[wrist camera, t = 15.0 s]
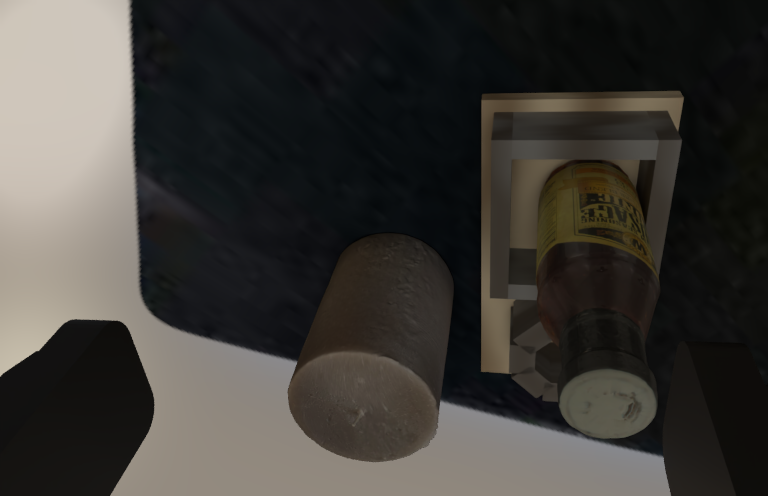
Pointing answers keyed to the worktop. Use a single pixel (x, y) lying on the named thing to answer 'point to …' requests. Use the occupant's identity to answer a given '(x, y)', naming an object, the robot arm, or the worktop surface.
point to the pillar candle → (376, 351)
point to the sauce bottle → (597, 296)
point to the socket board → (522, 192)
